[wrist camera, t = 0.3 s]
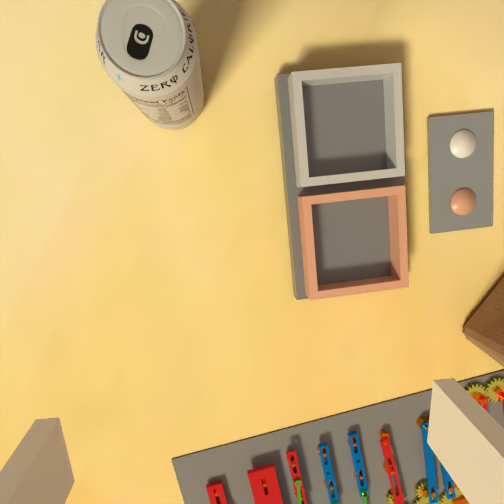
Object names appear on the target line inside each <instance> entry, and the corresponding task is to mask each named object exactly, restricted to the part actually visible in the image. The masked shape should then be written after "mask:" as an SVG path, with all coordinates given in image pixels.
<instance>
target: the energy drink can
mask: <svg viewBox="0 0 504 504" xmlns="http://www.w3.org/2000/svg"><path fill="white" fill-rule="evenodd" d="M96 48H97V53H98V57H99V59H100V62H101V64H102V67H103V68H104V70H105V71H106V73H107V74H108V76H109V77H110V78H111V79H112V80H113V81H114V82H115V83H116V84H117V86H118V87H119V88H120V89H121V90H122V91H123V92H124V93H125V94H126V95H127V96H128V97H129V99H130V100H131V101H132V102H133V103H134V104H135V105H136V106H137V107H138V108H139V109H140V111H141V112H142V113H143V114H144V115H145V116H146V117H147V118H148V119H149V120H150V121H151V122H152V123H153V124H155V125H156V126H158V127H160V128H163V129H167V130H178V129H182V128H185V127H187V126H189V125H191V124H192V123H193V122H194V121H195V120H196V119H197V118H198V116H199V115H200V113H201V110H202V108H203V103H204V92H203V83H202V74H201V65H200V56H199V47H198V40H197V34H196V31H195V28H194V25H193V23H192V21H191V19H190V17H189V16H188V14H187V13H186V11H185V10H184V9H183V8H182V7H181V6H180V5H179V4H178V3H177V2H176V1H174V0H106V2H105V3H104V5H103V6H102V9H101V11H100V14H99V18H98V24H97V31H96Z"/></svg>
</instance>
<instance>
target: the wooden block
mask: <svg viewBox="0 0 504 504" xmlns="http://www.w3.org/2000/svg"><path fill="white" fill-rule="evenodd" d="M463 333H464V335H465V336H466V338H467V339H468V340H469V341H471V342H472V343H473V344H474V345H476V346H477V347H478V348H480V349H481V350H482V351H484V352H485V353H486V354H488V355H489V356H490V357H492V358H493V359H494V360H496V361H497V362H498V363H500V364H501V365H502V366H503V367H504V277H503V278H502V279H501V280H500V282H499V283H498V284H497V285H496V287H495V288H494V289H493V290H492V292H491V293H490V294H489V295H488V297H487V298H486V299H485V300H484V302H483V303H482V304H481V305H480V307H479V308H478V309H477V310H476V312H475V313H474V314H473V315H472V317H471V318H470V319H469V320H468V322H467V323H466V324H465V325H464V328H463Z"/></svg>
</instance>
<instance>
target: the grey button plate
mask: <svg viewBox="0 0 504 504" xmlns="http://www.w3.org/2000/svg"><path fill="white" fill-rule="evenodd" d="M427 131H428V176H429V222H430V233H440V232H448V231H457V230H465V229H473V228H481V227H489V226H493V137H494V111H490V112H479V113H469V114H458V115H448V116H438V117H429V118H427Z"/></svg>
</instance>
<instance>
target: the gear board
mask: <svg viewBox="0 0 504 504" xmlns="http://www.w3.org/2000/svg"><path fill="white" fill-rule="evenodd" d="M458 383H459V384H460V385H461V386H462V387H463V388H464V389H465V390H466V391H467V392H468V393H469V394H470V395H471V396H472V397H473V398H474V399H475V400H476V401H477V402H478V403H479V404H480V405H481V406H482V407H483V408H484V409H485V410H486V411H487V412H488V413H489V414H490V415H491V416H492V417H493V418H494V419H495V420H496V421H497V422H498V423H499V424H500V425H501V426H502V427H503V428H504V370H501V371H497V372H493V373H490V374H486V375H482V376H478V377H475V378H471V379H467V380H464V381H460V382H458ZM431 397H432V389H430V390H426V391H423V392H419V393H415V394H411V395H408V396H404V397H400V398H397V399H393V400H389V401H385V402H382V403H378V404H374V405H370V406H367V407H363V408H359V409H356V410H352V411H348V412H344V413H341V414H337V415H333V416H330V417H326V418H322V419H318V420H315V421H311V422H307V423H303V424H300V425H296V426H292V427H289V428H285V429H281V430H277V431H274V432H270V433H266V434H262V435H259V436H255V437H251V438H248V439H244V440H240V441H236V442H233V443H229V444H225V445H222V446H218V447H214V448H210V449H207V450H203V451H199V452H195V453H192V454H188V455H184V456H181V457H177V458H173V459H172V463H173V466H174V470H175V473H176V476H177V480H178V483H179V486H180V490H181V493H182V496H183V500H184V503H185V504H469V502H468V501H467V499H466V498H465V496H464V495H463V494H462V492H461V491H460V489H459V488H458V486H457V485H456V483H455V482H454V481H453V479H452V478H451V476H450V475H449V473H448V472H447V471H446V469H445V468H444V466H443V465H442V463H441V462H440V460H439V459H438V458H437V456H436V455H435V453H434V452H433V450H432V449H431V447H430V446H429V445H428V443H427V438H428V428H429V417H430V407H431Z"/></svg>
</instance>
